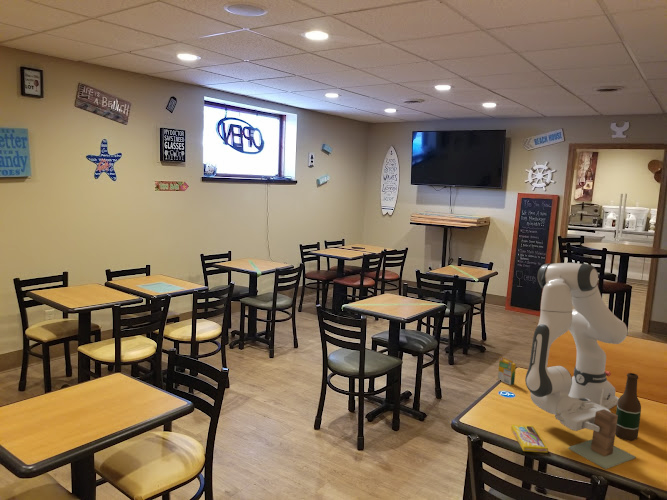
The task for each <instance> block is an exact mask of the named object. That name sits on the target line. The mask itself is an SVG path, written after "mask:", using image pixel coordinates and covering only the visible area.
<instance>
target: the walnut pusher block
mask: <svg viewBox="0 0 667 500" xmlns="http://www.w3.org/2000/svg"><path fill="white" fill-rule="evenodd" d="M617 418H618V415H616V413H613V412H612V411H611V412H609V411H607V410H605V409H603V410H600V411H596V415H595V423H594V424H595V425H596V424H597V425H599V426H601V431H599V432H597V431H594V430H592V439H591V440H592V445H591V450H593V451H595V452H597V453H598V454H600V455H602V456H604V457H605V456H608V455H610V454H613V447H614V446H615V439H616V435H615V433H616V425H617Z"/></svg>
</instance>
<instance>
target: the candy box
mask: <svg viewBox="0 0 667 500" xmlns="http://www.w3.org/2000/svg"><path fill="white" fill-rule="evenodd" d="M510 429H511V431H512V433H513V435H514V436H515V438H516V441H517V442H518V444H519V446H520V448H521V449H522V451H523V452H533V453H546V454H547V453H549V451H548V450H549V448H548V446H547V444H546V443H545V441H544V440H543V439H542V437H541V436H540V434H539V432H538V430H536V428H535V426H534V425H521V424H511V427H510Z"/></svg>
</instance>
